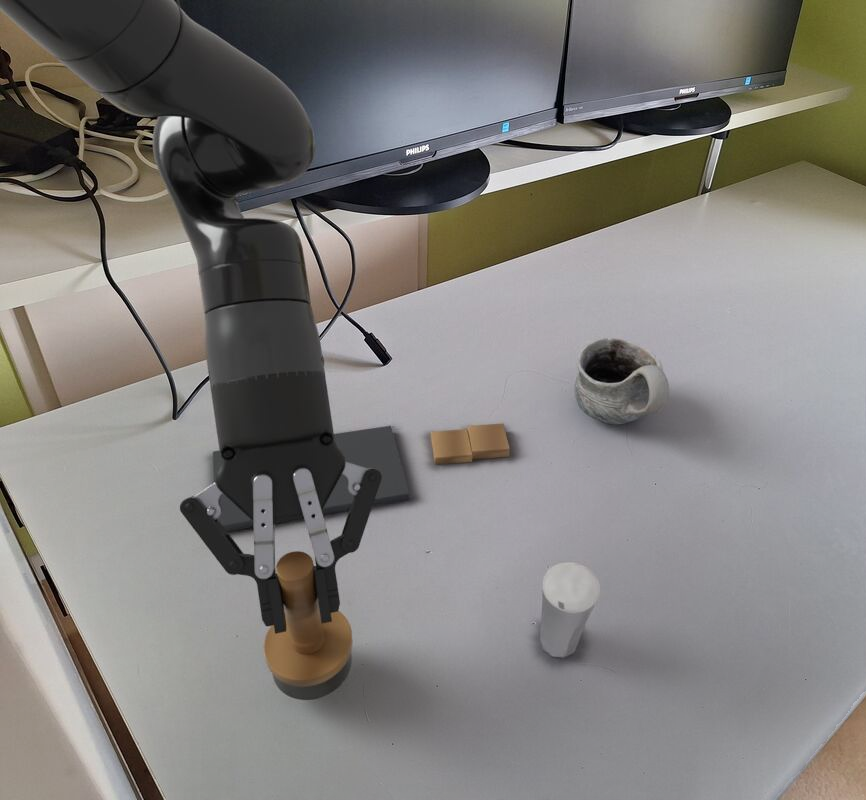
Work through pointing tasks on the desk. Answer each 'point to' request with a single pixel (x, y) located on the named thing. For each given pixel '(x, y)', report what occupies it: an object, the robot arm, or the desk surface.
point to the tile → (357, 449)
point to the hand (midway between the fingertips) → (304, 624)
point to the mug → (619, 381)
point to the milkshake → (566, 606)
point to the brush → (306, 636)
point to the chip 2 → (488, 441)
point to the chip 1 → (451, 446)
